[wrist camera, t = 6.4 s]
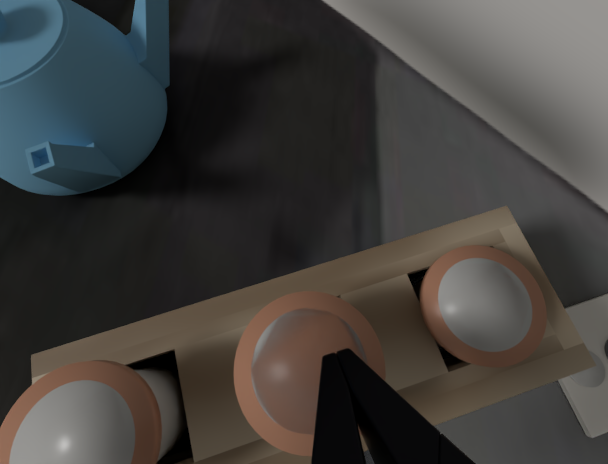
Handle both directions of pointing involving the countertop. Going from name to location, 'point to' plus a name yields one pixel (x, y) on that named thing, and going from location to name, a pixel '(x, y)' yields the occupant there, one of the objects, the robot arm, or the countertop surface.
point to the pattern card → (594, 381)
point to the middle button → (296, 363)
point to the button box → (379, 313)
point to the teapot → (79, 94)
